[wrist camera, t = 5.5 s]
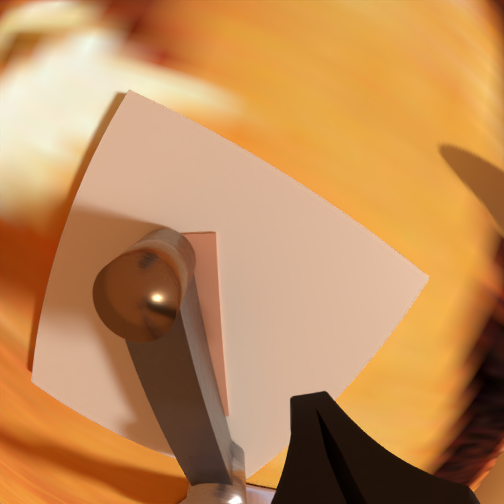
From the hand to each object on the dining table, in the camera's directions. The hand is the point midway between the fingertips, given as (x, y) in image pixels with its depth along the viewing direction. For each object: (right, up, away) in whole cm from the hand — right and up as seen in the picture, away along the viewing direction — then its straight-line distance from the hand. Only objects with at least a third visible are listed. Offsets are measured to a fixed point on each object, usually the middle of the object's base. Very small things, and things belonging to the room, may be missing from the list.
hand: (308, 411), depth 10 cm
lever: (-5, -1, +5) cm, 7 cm away
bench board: (-5, +1, +6) cm, 8 cm away
